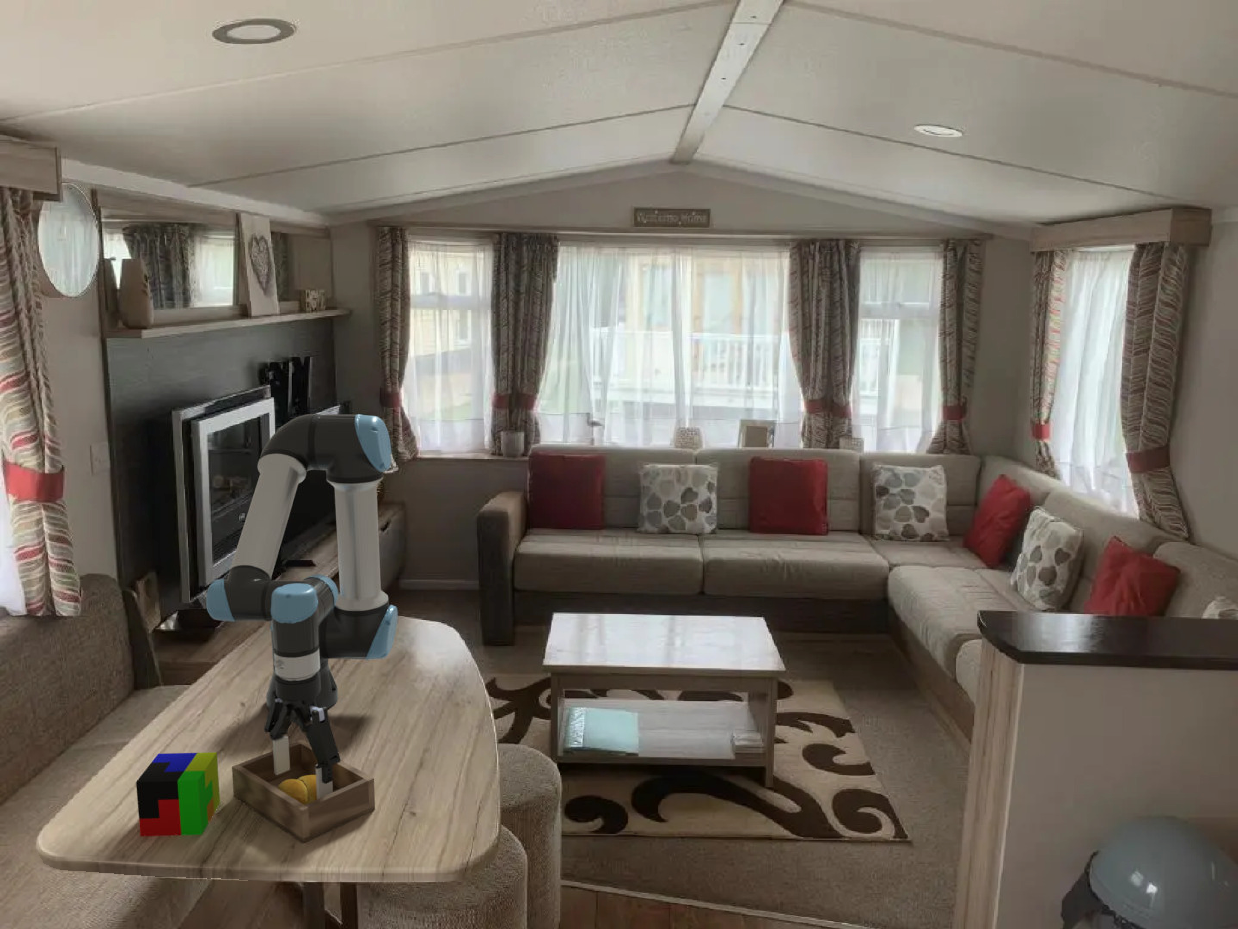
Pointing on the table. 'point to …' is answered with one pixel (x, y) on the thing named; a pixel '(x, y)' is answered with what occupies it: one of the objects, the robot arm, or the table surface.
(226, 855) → the table surface
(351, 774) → the wooden box
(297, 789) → the bread roll
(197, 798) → the puzzle toy
